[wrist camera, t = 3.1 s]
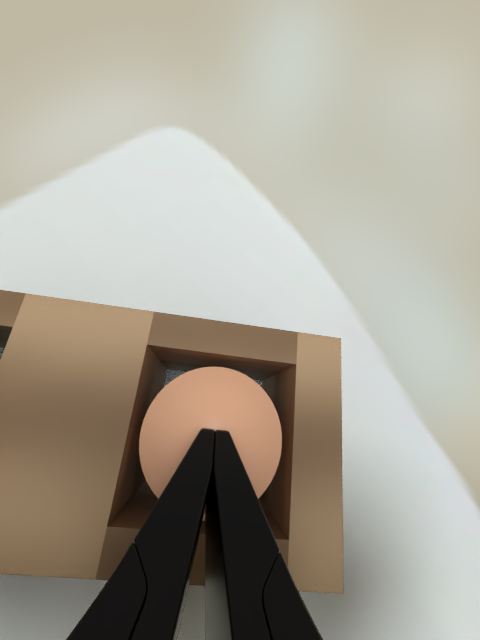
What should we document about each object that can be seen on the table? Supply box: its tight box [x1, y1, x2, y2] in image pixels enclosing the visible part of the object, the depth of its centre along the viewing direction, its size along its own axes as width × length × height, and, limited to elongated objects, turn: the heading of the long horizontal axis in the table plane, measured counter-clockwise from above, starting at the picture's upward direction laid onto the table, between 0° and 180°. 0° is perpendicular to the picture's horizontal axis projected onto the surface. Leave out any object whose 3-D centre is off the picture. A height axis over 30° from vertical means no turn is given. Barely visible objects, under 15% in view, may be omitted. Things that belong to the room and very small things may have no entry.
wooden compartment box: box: [0, 290, 343, 593], centre depth 12 cm, size 8×19×6 cm, turn 84°
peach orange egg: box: [139, 367, 282, 521], centre depth 11 cm, size 4×4×5 cm
